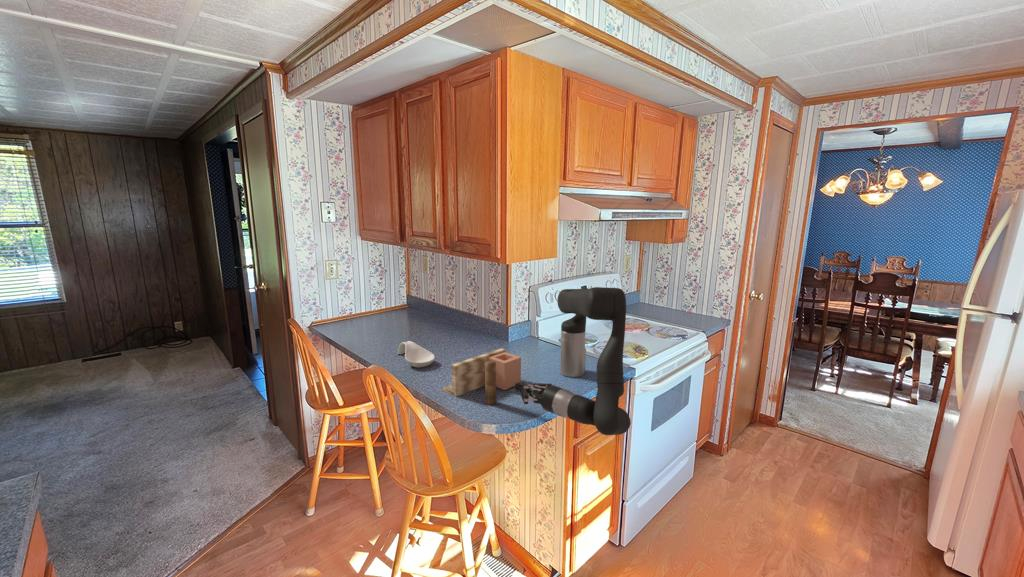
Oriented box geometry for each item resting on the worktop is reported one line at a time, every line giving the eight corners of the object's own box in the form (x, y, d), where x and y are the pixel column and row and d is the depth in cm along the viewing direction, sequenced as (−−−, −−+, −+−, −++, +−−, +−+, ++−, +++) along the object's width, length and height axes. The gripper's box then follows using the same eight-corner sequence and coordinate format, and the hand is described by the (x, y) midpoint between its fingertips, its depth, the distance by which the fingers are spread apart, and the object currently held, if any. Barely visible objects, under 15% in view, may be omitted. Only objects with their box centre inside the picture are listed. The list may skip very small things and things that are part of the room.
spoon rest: (440, 366, 177) (439, 349, 175) (413, 373, 169) (413, 355, 168) (413, 351, 195) (413, 336, 193) (389, 357, 187) (388, 341, 186)
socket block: (504, 376, 164) (504, 351, 162) (520, 383, 158) (520, 357, 156) (488, 383, 158) (487, 357, 156) (504, 390, 152) (504, 363, 150)
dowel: (490, 399, 145) (490, 360, 143) (498, 402, 143) (498, 362, 140) (483, 402, 143) (482, 362, 140) (490, 406, 141) (490, 365, 138)
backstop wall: (492, 372, 169) (492, 345, 167) (505, 376, 165) (505, 349, 163) (443, 390, 152) (442, 361, 150) (455, 396, 148) (455, 366, 146)
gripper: (575, 383, 128) (530, 368, 139) (547, 396, 118) (501, 380, 130) (574, 406, 129) (530, 390, 141) (546, 422, 120) (502, 403, 131)
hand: (516, 385), depth 135 cm, fingers closed
